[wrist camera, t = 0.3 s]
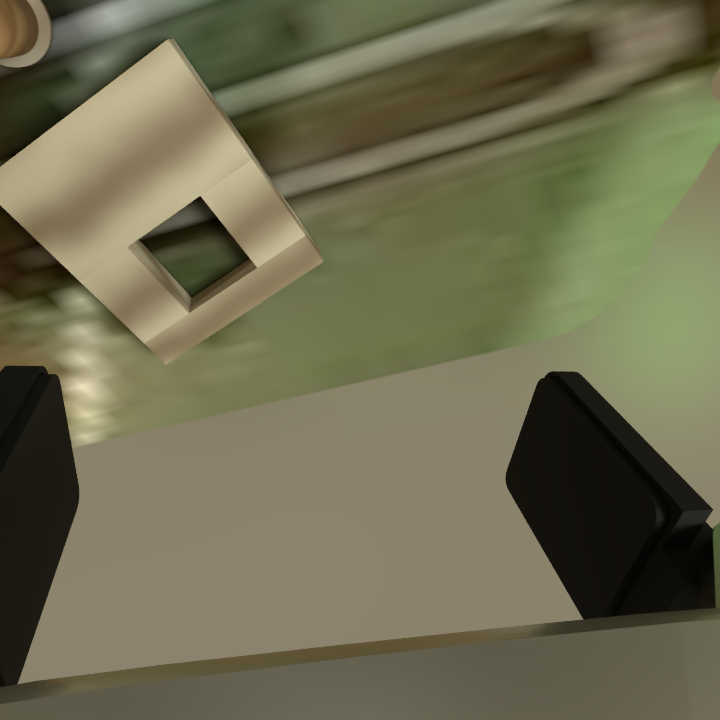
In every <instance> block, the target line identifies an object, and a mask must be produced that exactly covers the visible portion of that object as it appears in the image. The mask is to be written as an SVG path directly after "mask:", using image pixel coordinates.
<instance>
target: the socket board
mask: <svg viewBox="0 0 720 720" xmlns="http://www.w3.org/2000/svg"><path fill="white" fill-rule="evenodd" d="M199 196H201V197H202V199H203V200H204V201H205V202H206V204H207V205H208V206H209V207H210V209H211V210H212V211H213V212H214V214H215V215H216V216H217V217H218V219H219V220H220V221H221V222H222V224H223V225H224V226H225V228H226V229H227V230H228V231H229V233H230V234H231V235H232V236H233V238H234V239H235V240H236V241H237V243H238V244H239V245H240V246H241V248H242V249H243V250H244V251H245V253H246V254H247V255H248V257H249V258H250V259H249V260H247V261H246V262H244V263H243V264H241V265H240V266H238V267H237V268H235V269H234V270H232V271H231V272H229V273H228V274H226V275H225V276H223V277H222V278H220V279H219V280H217V281H216V282H214V283H213V284H211V285H210V286H208V287H207V288H205V289H204V290H202V291H201V292H199V293H198V294H196V295H195V296H193V297H192V298H191V296H190V295H189V294H188V293H187V292H186V291H185V290H184V289H183V288H182V287H181V286H180V284H179V283H178V282H177V281H176V280H175V279H174V278H173V277H172V276H171V275H170V273H169V272H168V271H167V270H166V269H165V268H164V267H163V266H162V265H161V264H160V263H159V261H158V260H157V259H156V258H155V257H154V256H153V255H152V254H151V253H150V252H149V250H148V249H147V248H146V247H145V246H144V245H143V244H142V243H141V242H140V241H139V240H138V239H139V238H141V237H142V236H144V235H145V234H147V233H148V232H149V231H151V230H152V229H154V228H155V227H157V226H158V225H159V224H161V223H162V222H164V221H165V220H166V219H168V218H169V217H171V216H172V215H174V214H175V213H176V212H178V211H179V210H181V209H182V208H184V207H185V206H186V205H188V204H189V203H191V202H192V201H193V200H195V199H196V198H198V197H199ZM0 205H1V206H2V207H3V208H4V209H5V210H6V211H7V212H8V213H9V214H10V215H11V216H12V217H13V218H14V219H15V220H16V221H17V222H18V223H19V224H20V225H21V226H22V227H24V228H25V229H26V230H27V231H28V232H29V233H30V234H31V235H32V236H33V237H34V238H35V239H36V240H37V241H38V242H39V243H40V244H41V245H42V246H43V247H44V248H45V249H46V250H47V251H49V252H50V253H51V254H52V255H53V256H54V257H55V258H56V259H57V260H58V261H59V262H60V263H61V264H62V265H63V266H64V267H65V268H66V269H67V270H68V271H69V272H70V273H71V274H72V275H74V276H75V277H76V278H77V279H78V280H79V281H80V282H81V283H82V284H83V285H84V286H85V287H86V288H87V289H88V290H89V291H90V292H91V293H92V294H93V295H94V296H95V297H96V298H97V299H99V300H100V301H101V302H102V303H103V304H104V305H105V306H106V307H107V308H108V309H109V310H110V311H111V312H112V313H113V314H114V315H115V316H116V317H117V318H118V319H119V320H120V321H121V322H122V323H124V324H125V325H126V326H127V327H128V328H129V329H130V330H131V331H132V332H133V333H134V334H135V335H136V336H137V337H138V338H139V339H140V340H141V341H142V342H143V343H144V344H145V345H146V346H147V347H149V348H150V349H151V350H152V351H153V352H154V353H155V354H156V355H157V356H158V357H159V358H160V359H161V360H162V361H163V362H164V363H165V364H168V363H169V362H171V361H173V360H174V359H176V358H177V357H179V356H180V355H182V354H183V353H185V352H186V351H188V350H189V349H191V348H192V347H194V346H195V345H197V344H198V343H200V342H202V341H203V340H205V339H206V338H208V337H209V336H211V335H212V334H214V333H215V332H217V331H218V330H220V329H221V328H223V327H224V326H226V325H227V324H229V323H230V322H232V321H234V320H235V319H237V318H238V317H240V316H241V315H243V314H244V313H246V312H247V311H249V310H250V309H252V308H253V307H255V306H256V305H258V304H259V303H261V302H263V301H264V300H266V299H267V298H269V297H270V296H272V295H273V294H275V293H276V292H278V291H279V290H281V289H282V288H284V287H285V286H287V285H288V284H290V283H291V282H293V281H295V280H296V279H298V278H299V277H301V276H302V275H304V274H305V273H307V272H308V271H310V270H311V269H313V268H314V267H316V266H317V265H319V264H320V263H322V262H324V261H323V258H322V255H321V253H320V250H319V248H318V246H317V245H316V243H315V242H314V240H313V239H312V238H311V236H310V235H309V233H308V232H307V230H306V229H305V227H304V226H303V225H302V223H301V222H300V220H299V219H298V217H297V216H296V215H295V213H294V212H293V210H292V209H291V207H290V206H289V204H288V203H287V202H286V200H285V199H284V197H283V196H282V194H281V193H280V192H279V190H278V189H277V187H276V186H275V184H274V183H273V181H272V180H271V179H270V177H269V176H268V174H267V173H266V171H265V170H264V169H263V167H262V166H261V164H260V163H259V161H258V160H257V158H256V157H255V156H254V154H253V153H252V151H251V150H250V148H249V147H248V146H247V144H246V143H245V141H244V140H243V138H242V137H241V135H240V134H239V133H238V131H237V130H236V128H235V127H234V125H233V124H232V122H231V121H230V120H229V118H228V117H227V115H226V114H225V112H224V111H223V110H222V108H221V107H220V105H219V104H218V102H217V101H216V99H215V98H214V97H213V95H212V94H211V92H210V91H209V89H208V88H207V87H206V85H205V84H204V82H203V81H202V79H201V78H200V76H199V75H198V74H197V72H196V71H195V69H194V68H193V66H192V65H191V64H190V62H189V61H188V59H187V58H186V56H185V55H184V53H183V52H182V51H181V49H180V48H179V46H178V45H177V43H176V42H175V41H174V39H173V38H171V39H168V40H166V41H165V42H164V43H162V44H161V45H160V46H158V47H157V48H156V49H154V50H153V51H152V52H150V53H149V54H148V55H147V56H145V57H144V58H143V59H141V60H140V61H139V62H137V63H136V64H135V65H133V66H132V67H131V68H129V69H128V70H127V71H125V72H124V73H123V74H122V75H120V76H119V77H118V78H116V79H115V80H114V81H112V82H111V83H110V84H108V85H107V86H106V87H104V88H103V89H102V90H101V91H99V92H98V93H97V94H95V95H94V96H93V97H91V98H90V99H89V100H87V101H86V102H85V103H83V104H82V105H81V106H80V107H78V108H77V109H76V110H74V111H73V112H72V113H70V114H69V115H68V116H66V117H65V118H64V119H62V120H61V121H60V122H59V123H57V124H56V125H55V126H53V127H52V128H51V129H49V130H48V131H47V132H45V133H44V134H43V135H41V136H40V137H39V138H38V139H36V140H35V141H34V142H32V143H31V144H30V145H28V146H27V147H26V148H24V149H23V150H22V151H20V152H19V153H18V154H17V155H15V156H14V157H13V158H11V159H10V160H9V161H7V162H6V163H5V164H3V165H2V166H1V167H0Z"/></svg>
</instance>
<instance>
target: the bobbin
mask: <svg viewBox="0 0 720 720" xmlns="http://www.w3.org/2000/svg"><path fill="white" fill-rule="evenodd" d="M52 39H53V27H52V21H51V18H50V15H49V12H48V10H47V8H46V6H45V4H44V2H43V1H42V0H0V65H3V66H7V67H25V66H29V65H33V64H35V63H37V62H39V61H40V60H42V59H43V58H44V57H45V55H46V54H47V53H48V51H49V49H50V47H51V44H52Z"/></svg>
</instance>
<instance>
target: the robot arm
mask: <svg viewBox="0 0 720 720" xmlns="http://www.w3.org/2000/svg"><path fill="white" fill-rule="evenodd" d="M506 485H507V488H508V490H509V492H510V493H511V495H512V497H513V499H514V500H515V502H516V504H517V506H518V507H519V509H520V511H521V513H522V514H523V516H524V518H525V519H526V521H527V523H528V524H529V526H530V528H531V529H532V531H533V533H534V535H535V537H536V538H537V540H538V542H539V544H540V545H541V547H542V549H543V550H544V552H545V554H546V556H547V557H548V559H549V561H550V562H551V564H552V566H553V568H554V569H555V571H556V573H557V575H558V576H559V578H560V580H561V581H562V583H563V585H564V587H565V588H566V590H567V592H568V594H569V595H570V597H571V599H572V600H573V602H574V604H575V606H576V607H577V609H578V611H579V613H580V614H581V616H582V618H583V619H584V620H574V621H564V622H554V623H544V624H534V625H524V626H514V627H505V628H495V629H486V630H476V631H467V632H457V633H448V634H438V635H429V636H419V637H410V638H401V639H392V640H382V641H373V642H364V643H354V644H345V645H335V646H326V647H318V648H309V649H301V650H291V651H282V652H273V653H264V654H256V655H246V656H237V657H228V658H219V659H211V660H201V661H192V662H184V663H175V664H166V665H157V666H149V667H143V668H134V669H127V670H119V671H111V672H103V673H95V674H88V675H79V676H71V677H64V678H56V679H49V680H41V681H34V682H28V683H22V684H17V683H18V681H19V678H20V675H21V672H22V669H23V667H24V664H25V661H26V657H27V655H28V652H29V648H30V646H31V643H32V640H33V637H34V634H35V631H36V628H37V625H38V622H39V619H40V616H41V613H42V610H43V607H44V605H45V602H46V599H47V596H48V593H49V590H50V587H51V584H52V581H53V578H54V575H55V572H56V569H57V566H58V563H59V561H60V558H61V555H62V552H63V549H64V546H65V543H66V540H67V537H68V534H69V531H70V528H71V525H72V522H73V519H74V516H75V513H76V510H77V507H78V502H79V485H78V479H77V474H76V468H75V462H74V457H73V451H72V446H71V440H70V434H69V429H68V423H67V418H66V412H65V407H64V401H63V396H62V390H61V384H60V380H59V377H58V376H57V375H56V374H48V372H47V370H46V368H45V367H43V366H5V367H4V368H3V369H2V370H1V372H0V720H720V523H718V524H717V525H716V526H715V527H714V528H713V529H712V528H711V527H710V526H709V525H708V524H707V523H706V520H707V518H708V517H709V515H710V514H711V512H712V511H713V509H712V508H711V507H710V506H709V505H708V504H707V503H706V502H705V501H704V500H703V499H702V498H701V497H700V496H699V495H698V494H697V493H696V492H695V490H693V488H691V486H690V485H689V484H688V483H687V482H686V481H685V480H684V479H683V478H682V477H681V476H680V475H679V474H678V473H677V472H676V471H675V470H674V469H673V468H672V467H671V466H670V465H669V464H668V463H667V462H666V461H665V460H664V459H663V458H662V457H661V456H660V455H659V454H658V453H657V452H656V451H655V450H654V449H653V448H652V447H651V446H650V445H649V444H648V443H647V442H646V441H645V440H644V438H643V437H641V435H640V434H639V433H638V432H637V431H636V430H635V429H634V428H632V426H631V425H630V424H629V423H627V421H626V420H625V419H624V418H623V417H622V416H621V415H620V414H619V413H618V412H617V411H616V410H615V409H614V408H613V407H612V406H611V405H610V404H609V403H608V402H607V401H606V400H605V399H604V398H603V397H602V396H601V395H600V394H599V393H598V392H597V391H596V390H595V389H594V388H593V387H592V385H590V383H588V381H587V380H586V379H585V378H584V377H583V376H582V375H581V374H579V373H578V372H553V371H552V372H550V373H548V374H547V375H546V376H545V378H542V379H540V380H539V382H538V383H537V386H536V389H535V392H534V394H533V397H532V400H531V403H530V406H529V409H528V412H527V415H526V417H525V420H524V423H523V426H522V429H521V431H520V434H519V437H518V440H517V443H516V446H515V449H514V451H513V454H512V457H511V460H510V463H509V466H508V469H507V472H506Z"/></svg>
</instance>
